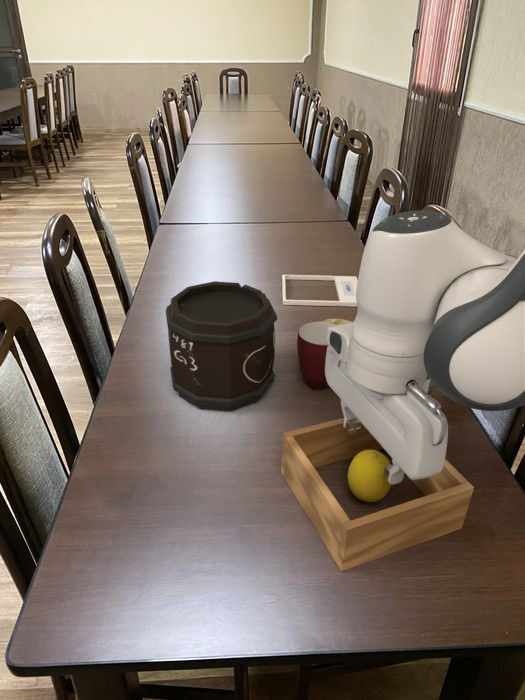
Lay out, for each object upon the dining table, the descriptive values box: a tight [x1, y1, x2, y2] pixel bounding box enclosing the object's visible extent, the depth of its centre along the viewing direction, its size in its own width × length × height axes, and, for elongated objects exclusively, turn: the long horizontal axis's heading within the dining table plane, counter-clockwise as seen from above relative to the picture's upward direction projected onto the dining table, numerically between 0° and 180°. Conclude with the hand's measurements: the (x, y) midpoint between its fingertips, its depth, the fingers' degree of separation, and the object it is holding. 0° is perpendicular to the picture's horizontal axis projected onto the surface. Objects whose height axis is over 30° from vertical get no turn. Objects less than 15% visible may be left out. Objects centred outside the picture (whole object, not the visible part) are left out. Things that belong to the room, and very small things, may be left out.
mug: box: [296, 320, 336, 390], centre depth 90 cm, size 11×8×10 cm
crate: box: [280, 417, 475, 573], centre depth 68 cm, size 17×17×7 cm
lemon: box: [347, 450, 392, 503], centre depth 68 cm, size 6×6×8 cm
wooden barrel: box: [165, 281, 278, 413], centre depth 88 cm, size 18×18×16 cm
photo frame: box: [281, 274, 358, 308], centre depth 124 cm, size 15×1×18 cm
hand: (370, 453), depth 66 cm, fingers open, 8 cm apart
